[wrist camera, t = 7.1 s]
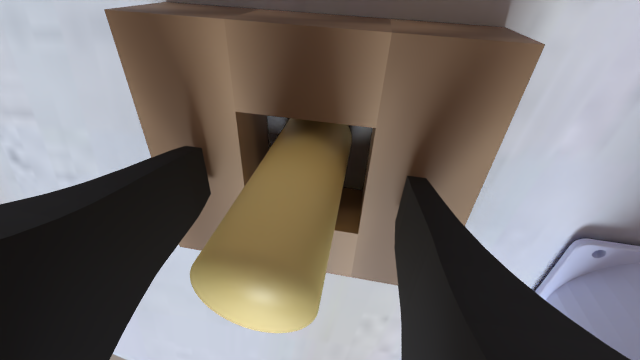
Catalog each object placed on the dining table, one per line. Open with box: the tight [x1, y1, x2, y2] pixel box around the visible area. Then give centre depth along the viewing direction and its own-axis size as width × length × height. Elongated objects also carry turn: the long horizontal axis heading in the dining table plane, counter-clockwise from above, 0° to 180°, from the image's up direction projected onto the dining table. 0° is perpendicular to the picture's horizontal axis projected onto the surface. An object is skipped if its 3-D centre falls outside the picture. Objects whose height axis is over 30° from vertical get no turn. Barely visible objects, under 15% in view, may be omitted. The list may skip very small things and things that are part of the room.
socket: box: [105, 2, 545, 285], centre depth 12 cm, size 12×10×3 cm
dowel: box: [190, 118, 352, 333], centre depth 10 cm, size 3×3×8 cm
